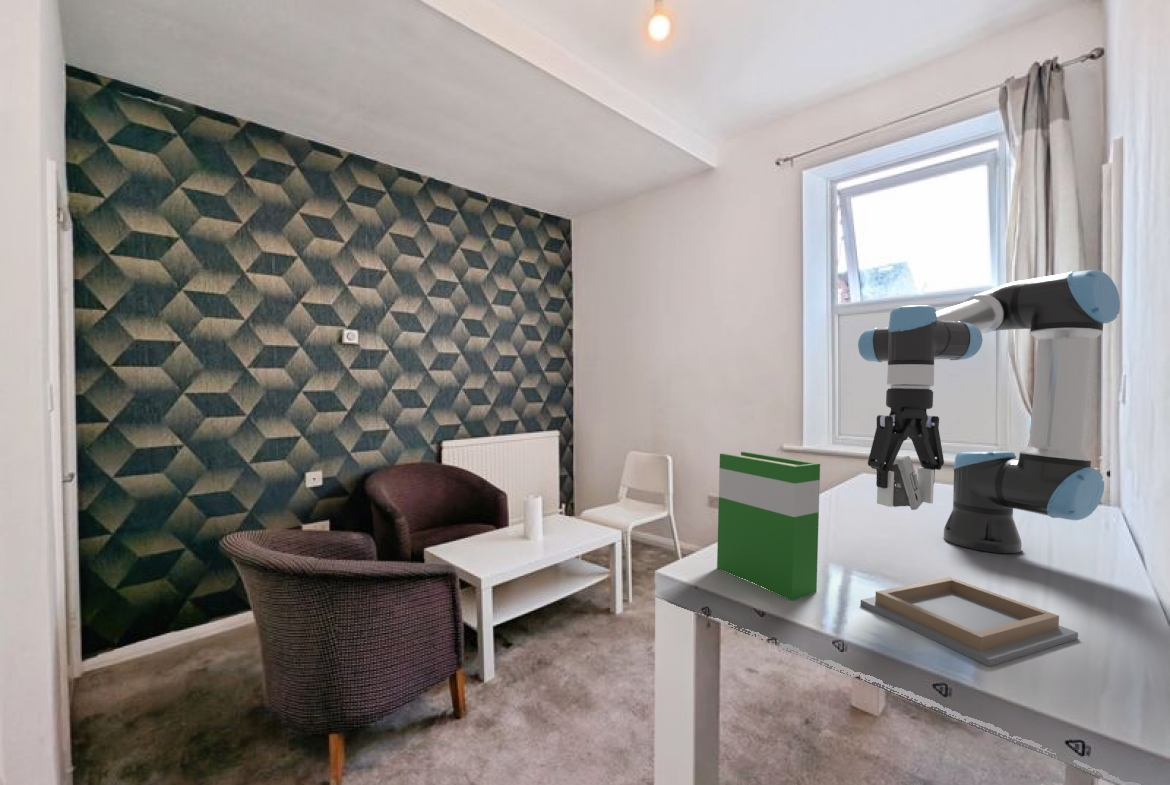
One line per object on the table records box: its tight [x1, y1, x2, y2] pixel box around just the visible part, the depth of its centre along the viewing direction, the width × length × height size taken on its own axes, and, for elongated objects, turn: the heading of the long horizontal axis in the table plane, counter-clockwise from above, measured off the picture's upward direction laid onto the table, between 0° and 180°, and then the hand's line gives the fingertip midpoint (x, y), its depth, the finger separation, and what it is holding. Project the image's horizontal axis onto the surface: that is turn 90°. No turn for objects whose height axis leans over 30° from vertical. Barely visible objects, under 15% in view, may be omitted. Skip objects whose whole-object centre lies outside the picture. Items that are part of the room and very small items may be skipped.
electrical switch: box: [890, 455, 924, 511], centre depth 96 cm, size 9×5×9 cm, turn 139°
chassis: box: [860, 576, 1079, 667], centre depth 82 cm, size 22×20×3 cm
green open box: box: [716, 451, 821, 601], centre depth 98 cm, size 18×7×24 cm, turn 32°
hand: (905, 503), depth 95 cm, fingers closed on electrical switch, 10 cm apart
